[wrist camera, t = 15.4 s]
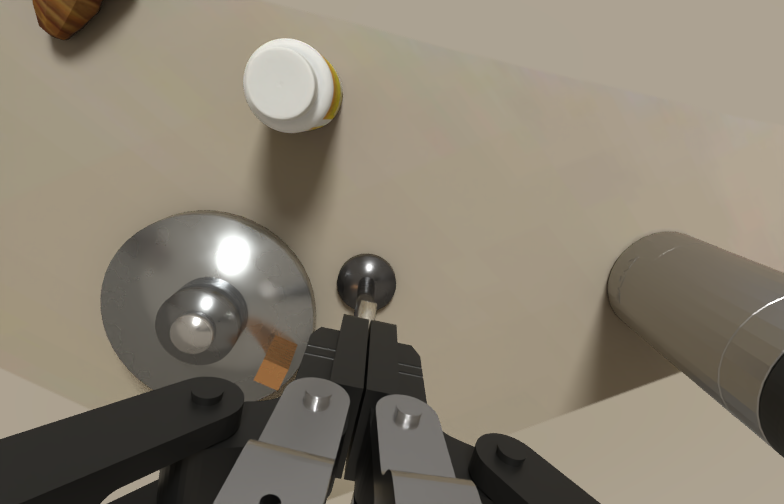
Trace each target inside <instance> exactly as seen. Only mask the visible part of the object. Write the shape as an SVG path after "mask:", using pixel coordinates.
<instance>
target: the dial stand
mask: <svg viewBox="0 0 784 504" xmlns="http://www.w3.org/2000/svg"><path fill="white" fill-rule="evenodd" d="M337 288H338V292H339V294H340V297H341V298H342V300H343V301H344V302H345V303H346V304H347V305H348V306H350V307H351V308H353V309H355V312H354V316H356V317H360V318H365V319H369V324H370V321H371V320H375V317H376V310H378V309H380V308H382V307H384V306H385V305H386V304H387V303H388V302H389V301H390V300H391V299H392V297H393V295H394V292H395V288H396V279H395V274H394V271H393V269H392V267H391V266H390V264H389V263H388V262H387V261H386V260H384V259H383V258H381V257H379V256H377V255H373V254H360V255H357V256H354V257H352V258H350V259H349V260H348V261H347V262H345V264H344V265H343V266H342V268H341V270H340V272H339V276H338V280H337ZM368 328H369V327H368Z"/></svg>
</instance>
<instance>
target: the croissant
mask: <svg viewBox="0 0 784 504" xmlns="http://www.w3.org/2000/svg"><path fill="white" fill-rule="evenodd" d="M32 1H33V5H34V9H35V13H36V16H37V20H38V23H39V26H40V27H41V28H42V29H43V30H45V31H46V32H47V33H48V34H50V35H51V36H53V37H56V38H59V39H62V40H66V39H69V38H71V37H72V36H73V35H74V34H76V33H77V32H78V31H80V30H81V29H82V28H83V27H84V26H85V25H86V24H87V23H88V22H89V21H90V20H91V19H92V18H93V17H94V16H95V15H96V14H97V13H98V12H99V11H100V8H101V5H102V2H103V0H32Z"/></svg>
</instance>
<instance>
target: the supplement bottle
mask: <svg viewBox="0 0 784 504" xmlns="http://www.w3.org/2000/svg"><path fill="white" fill-rule="evenodd" d="M243 88H244V94H245V98H246V101H247V103H248V105H249V107H250V109H251V110H252V112H253V113H254V115H255V116H256V117H257V118H258V119H259V120H260V121H261V122H262V123H264V124H265V125H266V126H268V127H270V128H272V129H274V130H277V131H280V132H285V133H299V132H304V131H310V130H314V129H318V128H320V127H323V126H325V125H326V124H328V123H329V122H330V121H331V120H332V119H333V118H334V117H335V116H336V114H337V113H338V111H339V109H340V106H341V103H342V98H343V88H342V83H341V80H340V77H339V75H338V73H337V72H336V70H335V69H334V67H333V66H332V65H331V64H330V63H329V62H328V61H327V60H326V59H325V58H324V57H323V56H322V55H321V54H320V53H319V52H317V51H316V50H315V49H314V48H312V47H311V46H310V45H308V44H306V43H304V42H301V41H299V40H295V39H289V38H282V39H275V40H272V41H269V42H267V43H265V44H263V45H262V46H261V47H259V48H258V49H257V50H256V51H255V52H254V53H253V54H252V56H251V57H250V59H249V61H248V63H247V65H246V68H245V71H244V77H243Z"/></svg>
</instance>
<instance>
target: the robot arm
mask: <svg viewBox="0 0 784 504" xmlns="http://www.w3.org/2000/svg"><path fill="white" fill-rule="evenodd" d="M608 296H609V302H610V304H611V306H612V309H613V311H614V312H615V313H616V315H617V316H618V317H619V318H620V319H621V320H622V321H623V322H625V323H626V324H627V325H628V326H629V327H630V328H632V329H633V330H634V331H635V332H636V333H637V334H639V335H640V336H641V337H642V338H643V339H644V340H645V341H646V342H648V343H649V344H650V345H651V346H652V347H654V348H655V349H656V350H657V351H658V352H659V353H661V354H662V355H663V356H664V357H665V358H666V359H668V360H669V361H670V362H671V363H672V364H674V365H675V366H676V367H677V368H678V369H679V370H681V371H682V372H683V373H684V374H685V375H686V376H688V377H689V378H690V379H691V380H692V381H694V382H695V383H696V384H697V385H698V386H699V387H701V388H702V389H703V390H704V391H705V392H707V393H708V394H709V395H710V396H711V397H712V398H714V399H715V400H716V401H717V402H718V403H719V404H721V405H722V406H723V407H724V408H725V409H727V410H728V411H729V412H730V413H731V414H732V415H734V416H735V417H736V418H738V419H739V420H740V421H741V422H742V423H744V424H745V425H746V426H747V427H748V428H749V429H751V430H752V431H753V432H754V433H755V434H757V435H758V436H759V437H760V438H761V439H762V440H764V441H765V442H766V443H767V444H768V445H769V446H771V447H772V448H773V449H774V450H775V451H777V452H778V453H779V454H780V455H781V456H783V457H784V273H783V272H780V271H777V270H775V269H772V268H770V267H767V266H765V265H762V264H760V263H757V262H754V261H752V260H749V259H747V258H744V257H742V256H739V255H737V254H734V253H732V252H729V251H726V250H724V249H721V248H719V247H717V246H714V245H712V244H709V243H706V242H704V241H701V240H699V239H696V238H694V237H691V236H688V235H685V234H682V233H678V232H660V233H654V234H651V235H649V236H646V237H643V238H641V239H640V240H638V241H636V242H635V243H633V244H632V245H631V246H630V247H628V248H627V249H626V250H625V251H624V252H623V253H622V254H621V256H620V257H619V258H618V259H617V261H616V263H615V265H614V267H613V268H612V270H611V274H610V277H609V281H608ZM368 327H369V328H368ZM346 457H347V458H346ZM345 461H346V466H345V475H344V479H346V480H351V481H355V487H354V493H353V497H352V500H351V504H600V503H599V502H598V501H596V500H595V499H594V498H593V497H591V496H590V495H589V494H587V493H586V492H585V491H584V490H583V489H581V488H580V487H579V486H578V485H576V484H575V483H574V482H572V481H571V480H570V479H569V478H567V477H566V476H565V475H564V474H562V473H561V472H560V471H559V470H557V469H556V468H555V467H553V466H552V465H551V464H550V463H548V462H547V461H546V460H545V459H543V458H542V457H541V456H540V455H538V454H537V453H536V452H534V451H533V450H532V449H531V448H529V447H528V446H527V445H525V444H524V443H522V442H520V441H519V440H517V439H515V438H512V437H510V436H507V435H503V434H497V433H490V434H485V435H483V436H481V437H480V438H479V439H478V440H477V442H476V445H475V447H473V446H471V445H469V444H466V443H464V442H462V441H459V440H457V439H455V438H453V437H451V436H449V435H447V434H446V433H444V432H443V431H442V428H441V425H440V421H439V418H438V415H437V414H436V412H435V411H434V410H433V409H432V408H431V407H430V406H429V405H427V402H426V395H425V388H424V381H423V374H422V369H421V360H420V356H419V355H418V353H417V352H416V351H415V350H414V348H413V347H412V346H411V345H406V344H401V343H397V327H396V325H394V324H389V323H384V322H380V321H375V320H371V321H370V324H369V319H365V318H360V317H356V316H351V315H346V314H344V316H343V320H342V325H341V329H340V331H338V330H333V329H329V328H324V327H321V328H319V329H318V330H316V331H315V332H313V333H312V334H311V335H310V338H309V341H308V344H307V347H306V350H305V353H304V355H303V358H302V361H301V364H300V367H299V370H298V373H297V376H296V378H295V381H293V382H291V383H290V384H288V385H287V387H286V388H285V390H284V392H283V394H282V396H281V397H278V398H275V399H272V400H266V401H244V394H243V391H242V390H241V388H240V387H239V386H237V385H236V384H235V383H233V382H231V381H229V380H226V379H222V378H218V377H196V378H191V379H187V380H184V381H181V382H178V383H174V384H171V385H168V386H165V387H162V388H159V389H156V390H153V391H150V392H146V393H143V394H140V395H137V396H134V397H131V398H128V399H125V400H121V401H118V402H115V403H112V404H109V405H106V406H103V407H100V408H96V409H93V410H90V411H87V412H84V413H81V414H78V415H75V416H72V417H69V418H65V419H62V420H59V421H56V422H53V423H50V424H47V425H43V426H40V427H37V428H34V429H31V430H28V431H25V432H22V433H19V434H15V435H12V436H9V437H6V438H3V439H0V504H100V503H101V502H102V501H103V500H104V499H105V498H106V497H107V496H108V495H109V494H111V493H112V492H114V491H115V490H117V489H119V488H121V487H123V486H125V485H127V484H129V483H132V482H134V481H136V480H138V479H140V478H142V477H145V476H147V475H149V474H151V473H153V472H155V471H158V470H160V473H159V479H158V480H156V481H154V482H152V483H150V484H148V485H146V486H143V487H141V488H139V489H137V490H135V491H133V492H131V493H129V494H127V495H124V496H123V497H120V498H118V499H116V500H114V501H112V502H110V503H108V504H325V503H326V500H327V498H328V496H329V495H330V493H331V491H332V488H333V484H334V480H335V478H340V479H341V477H342V473H343V469H344V465H345Z"/></svg>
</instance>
